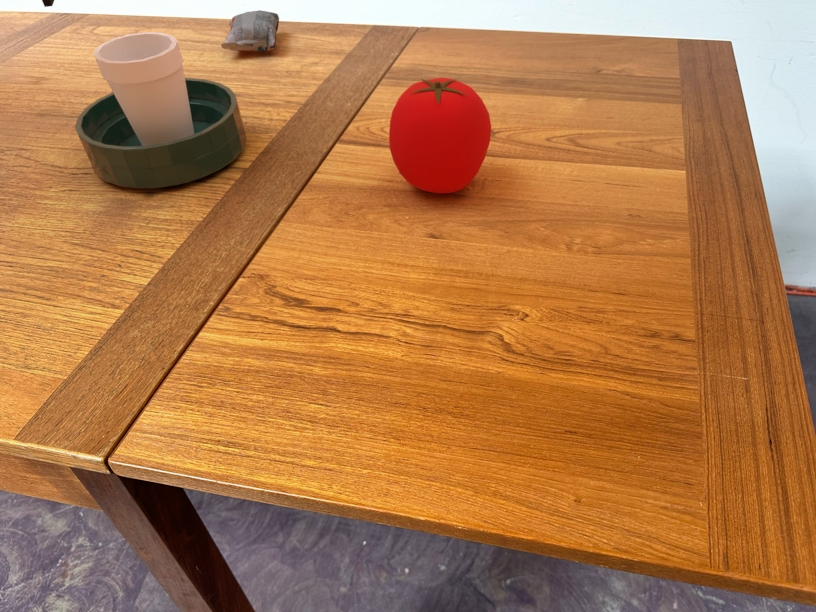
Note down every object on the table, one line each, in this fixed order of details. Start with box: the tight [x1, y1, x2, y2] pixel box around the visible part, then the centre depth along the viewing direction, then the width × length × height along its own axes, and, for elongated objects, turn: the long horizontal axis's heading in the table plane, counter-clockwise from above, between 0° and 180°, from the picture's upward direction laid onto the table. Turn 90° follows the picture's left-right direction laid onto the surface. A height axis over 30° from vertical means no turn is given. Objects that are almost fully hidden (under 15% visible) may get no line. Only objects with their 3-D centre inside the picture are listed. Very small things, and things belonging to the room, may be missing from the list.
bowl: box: [74, 77, 247, 189], centre depth 85 cm, size 19×19×6 cm
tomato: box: [388, 77, 492, 194], centre depth 76 cm, size 12×12×13 cm
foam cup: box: [92, 31, 194, 146], centre depth 82 cm, size 10×9×13 cm
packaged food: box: [220, 9, 280, 52], centre depth 112 cm, size 9×12×5 cm
